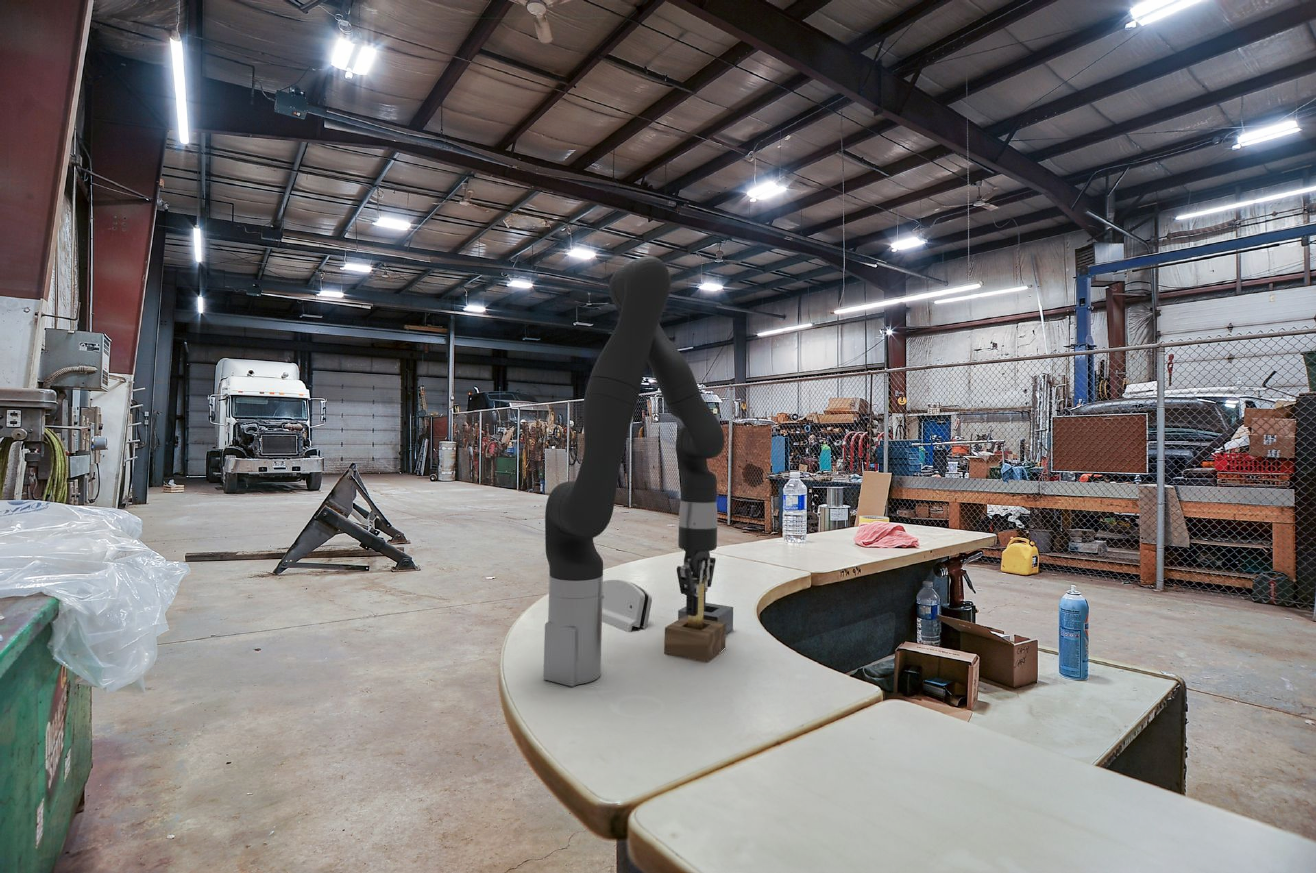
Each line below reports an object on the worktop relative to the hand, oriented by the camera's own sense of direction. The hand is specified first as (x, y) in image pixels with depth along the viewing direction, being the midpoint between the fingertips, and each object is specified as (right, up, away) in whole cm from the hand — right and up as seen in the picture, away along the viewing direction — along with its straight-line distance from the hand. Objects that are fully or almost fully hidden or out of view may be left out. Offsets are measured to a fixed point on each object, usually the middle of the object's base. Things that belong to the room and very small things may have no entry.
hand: (695, 612), depth 117 cm
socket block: (+3, -8, +12) cm, 15 cm away
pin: (0, -7, 0) cm, 7 cm away
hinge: (-16, -8, +19) cm, 26 cm away
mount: (0, -8, 0) cm, 8 cm away
